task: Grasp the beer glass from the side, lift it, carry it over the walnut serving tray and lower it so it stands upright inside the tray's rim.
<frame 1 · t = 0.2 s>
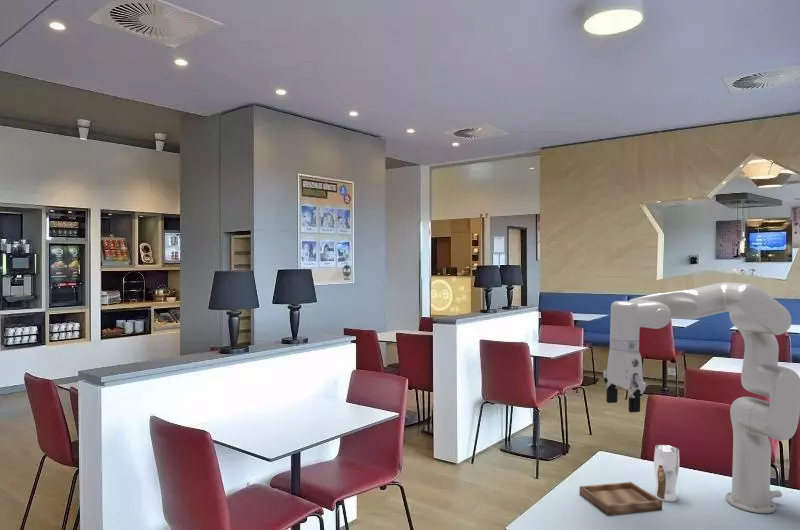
hand: (622, 407, 153), 31 cm above the table, tool pointing down, fingers open, 9 cm apart
beer glass: (665, 498, 168), on the table
walnut tray: (619, 502, 164), on the table
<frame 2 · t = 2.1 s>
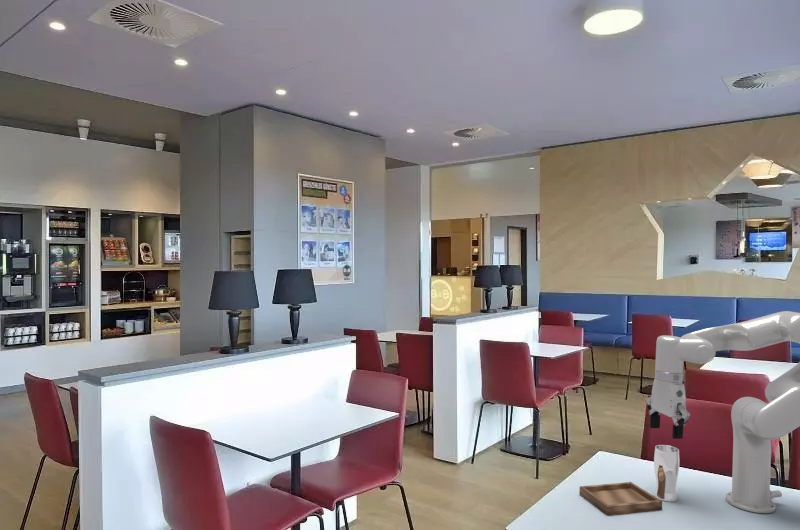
hand: (665, 433, 168), 20 cm above the table, tool pointing down, fingers open, 9 cm apart
nothing on the table moved.
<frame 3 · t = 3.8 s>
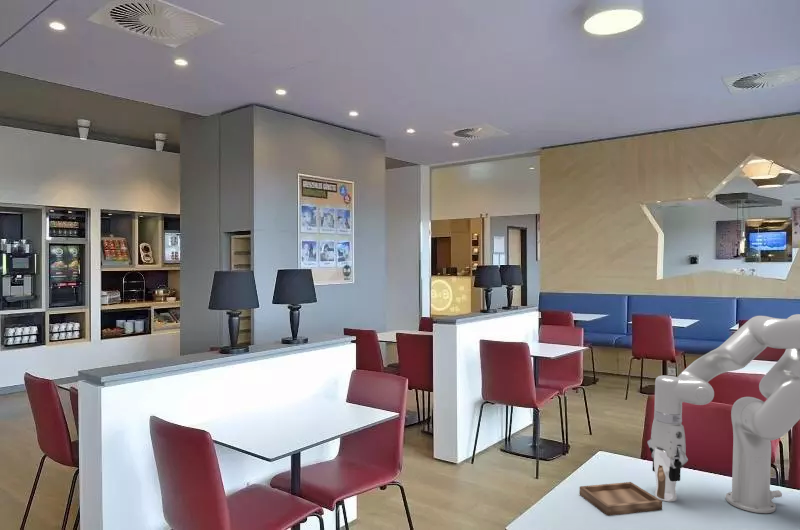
hand: (666, 475, 168), 7 cm above the table, tool pointing down, fingers closed on beer glass, 6 cm apart
beer glass: (665, 498, 168), on the table, touching gripper
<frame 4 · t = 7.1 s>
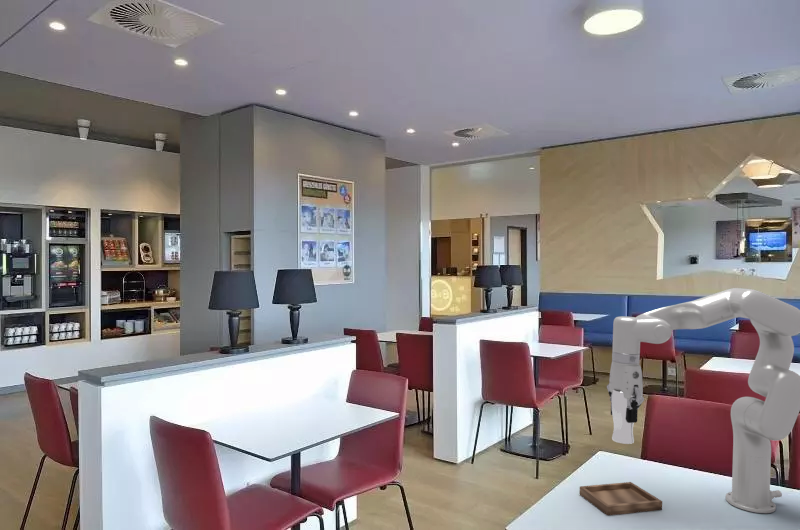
hand: (623, 418, 164), 25 cm above the table, tool pointing down, fingers closed on beer glass, 6 cm apart
beer glass: (622, 441, 164), point 18 cm above the table, touching gripper
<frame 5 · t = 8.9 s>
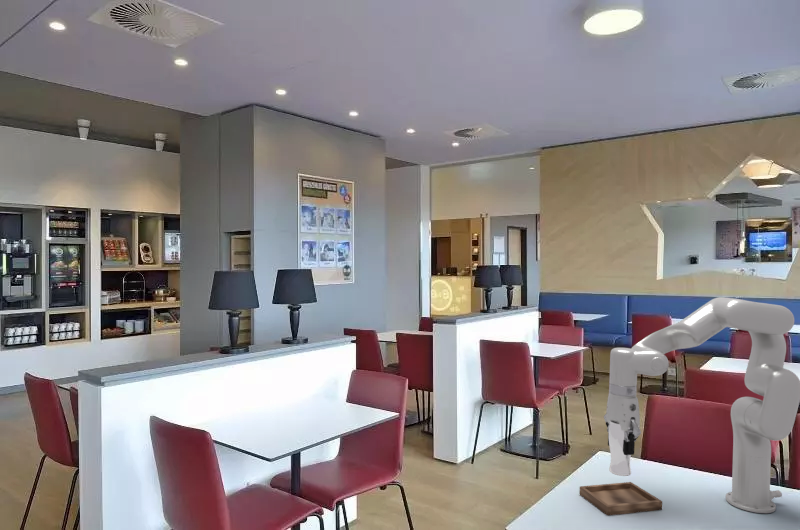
hand: (620, 449, 164), 16 cm above the table, tool pointing down, fingers closed on beer glass, 6 cm apart
beer glass: (620, 472, 164), point 9 cm above the table, touching gripper
when the fingers open (10 cm above the table, at t = 10.6 s): beer glass drops 2 cm, resting on walnut tray.
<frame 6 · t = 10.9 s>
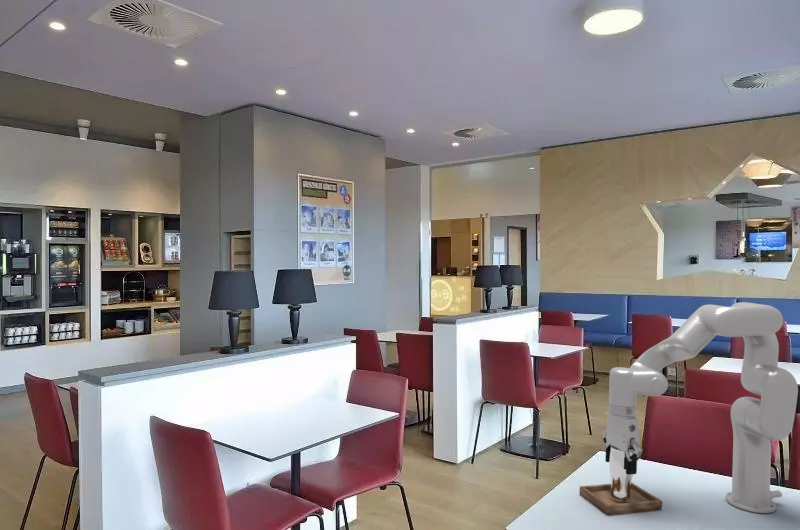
hand: (620, 467, 164), 10 cm above the table, tool pointing down, fingers open, 9 cm apart
beer glass: (620, 498, 164), point 1 cm above the table, touching walnut tray
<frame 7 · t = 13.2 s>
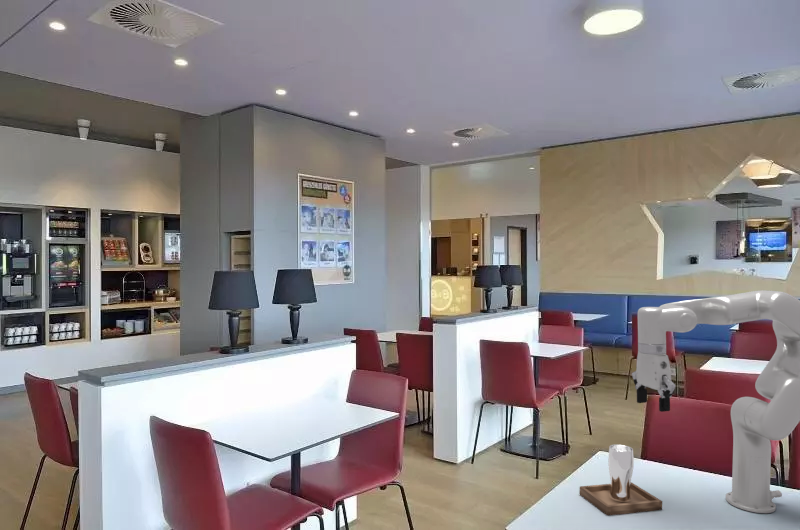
hand: (653, 406, 163), 29 cm above the table, tool pointing down, fingers open, 9 cm apart
nothing on the table moved.
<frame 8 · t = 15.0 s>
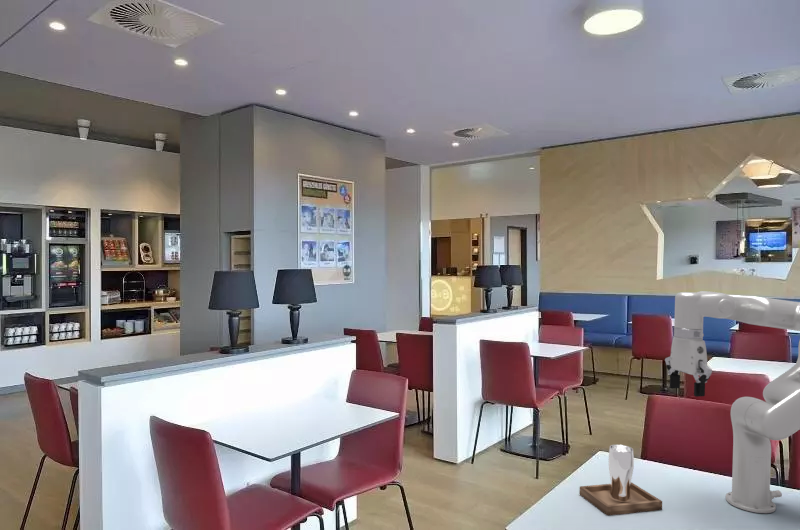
hand: (686, 392, 163), 33 cm above the table, tool pointing down, fingers open, 9 cm apart
nothing on the table moved.
at the end: beer glass inside the target area on the walnut tray (0.2 cm from its centre), point 0.8 cm above the walnut tray's base; beer glass tilted 0°; the gripper is holding nothing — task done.
